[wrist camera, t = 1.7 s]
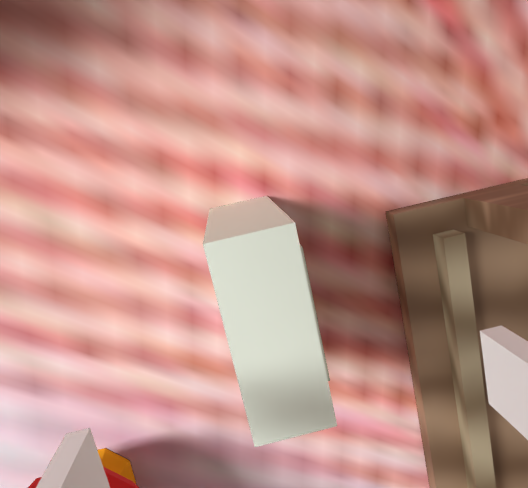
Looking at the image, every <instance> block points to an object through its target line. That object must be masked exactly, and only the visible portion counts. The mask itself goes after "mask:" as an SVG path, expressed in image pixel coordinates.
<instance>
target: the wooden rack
mask: <svg viewBox="0 0 528 488" xmlns="http://www.w3.org/2000/svg"><path fill="white" fill-rule="evenodd" d="M386 218H387V224H388V230H389V236H390V243H391V249H392V255H393V261H394V268H395V274H396V280H397V286H398V293H399V299H400V305H401V311H402V318H403V324H404V330H405V336H406V342H407V349H408V355H409V361H410V367H411V374H412V380H413V386H414V392H415V399H416V405H417V411H418V417H419V424H420V430H421V436H422V442H423V449H424V455H425V461H426V467H427V474H428V480H429V486H430V488H528V440H527V439H526V438H525V437H524V436H523V435H522V434H521V433H520V432H519V431H518V430H517V429H515V428H514V427H513V426H512V425H511V424H510V423H509V422H508V421H507V420H506V419H505V418H504V417H503V416H502V415H500V414H499V413H498V412H497V411H496V410H495V409H494V408H493V407H492V406H491V405H490V404H489V402H488V394H487V386H486V377H485V369H484V361H483V353H482V345H481V337H480V331H481V330H485V329H489V328H493V327H497V326H501V325H502V326H503V327H505V328H507V329H508V330H510V331H512V332H513V333H515V334H517V335H518V336H520V337H521V338H523V339H525V340H526V341H528V178H526V179H522V180H518V181H514V182H510V183H505V184H501V185H497V186H493V187H488V188H484V189H480V190H476V191H471V192H467V193H463V194H459V195H454V196H450V197H446V198H442V199H437V200H433V201H429V202H425V203H420V204H416V205H412V206H408V207H403V208H399V209H395V210H391V211H386Z"/></svg>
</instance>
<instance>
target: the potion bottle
mask: <svg viewBox="0 0 528 488" xmlns="http://www.w3.org/2000/svg"><path fill="white" fill-rule="evenodd" d="M98 453H99V456H100V459H101V462H102V465H103V468H104V471H105V474H106V477H107V480H108V483H109V486H110V488H139V487H138V486H137V485H136V481H135V477H134V474H133V470H132V467H131V463H130V460H128V459H126V458H124V457H122V456H120V455H118V454H116V453H114V452H112V451H110V450H108V449H106V448H104V449H100V450H98ZM41 478H42V477H40V478H36V479H35V481H34V482H33V483H32V484H31V485H30V486H29V487H28V488H36V487H37V485H38V483H39V481H40V480H41Z"/></svg>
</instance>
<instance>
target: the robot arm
mask: <svg viewBox="0 0 528 488" xmlns="http://www.w3.org/2000/svg"><path fill="white" fill-rule="evenodd" d="M480 337H481V345H482V353H483V361H484V369H485V377H486V386H487V394H488V402H489V404H490V405H491V406H492V407H493V408H494V409H495V410H496V411H497V412H498V413H499V414H500V415H502V416H503V417H504V418H505V419H506V420H507V421H508V422H509V423H510V424H511V425H512V426H513V427H514V428H515V429H517V430H518V431H519V432H520V433H521V434H522V435H523V436H524V437H525V438H526V439H527V440H528V341H526V340H525V339H523V338H521V337H520V336H518V335H517V334H515V333H513V332H512V331H510V330H508V329H507V328H505V327H503V326H502V325H501V326H497V327H493V328H489V329H485V330H481V331H480ZM36 488H110V486H109V483H108V480H107V477H106V474H105V471H104V468H103V465H102V462H101V459H100V456H99V453H98V450H97V447H96V445H95V442H94V439H93V436H92V433H91V430H90V428H88V429H84V430H80V431H76V432H72V433H68V434H66V435H65V437H64V438H63V440H62V442H61V444H60V446H59V447H58V449H57V451H56V453H55V455H54V456H53V458H52V460H51V462H50V463H49V465H48V467H47V469H46V471H45V472H44V474H43V476H42V478H41V480H40V481H39V483H38V485H37V487H36Z"/></svg>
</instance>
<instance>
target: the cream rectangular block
mask: <svg viewBox="0 0 528 488" xmlns="http://www.w3.org/2000/svg"><path fill="white" fill-rule="evenodd" d="M203 246H204V250H205V254H206V258H207V262H208V266H209V270H210V274H211V278H212V282H213V285H214V289H215V293H216V297H217V301H218V305H219V309H220V313H221V317H222V321H223V325H224V328H225V332H226V336H227V340H228V344H229V348H230V352H231V356H232V360H233V364H234V368H235V371H236V375H237V379H238V383H239V387H240V391H241V395H242V399H243V403H244V407H245V411H246V414H247V418H248V422H249V426H250V430H251V434H252V438H253V442H254V446H255V447H258V446H262V445H266V444H269V443H273V442H277V441H281V440H285V439H289V438H293V437H297V436H301V435H304V434H308V433H312V432H316V431H320V430H324V429H328V428H332V427H335V426H337V423H336V418H335V413H334V408H333V403H332V398H331V394H330V389H329V384H328V381H330V378H329V373H328V369H327V364H326V359H325V354H324V349H323V344H322V339H321V335H320V330H319V325H318V320H317V315H316V310H315V305H314V300H313V296H312V291H311V286H310V281H309V276H308V271H307V266H306V262H305V257H304V252H303V247H302V246H301V245H300V244H299V239H298V234H297V229H296V224H295V222H294V221H293V220H292V219H291V218H290V217H289V216H288V215H287V214H286V213H285V212H283V211H282V210H281V209H280V208H279V207H278V206H277V205H276V204H275V203H274V202H273V201H272V200H271V199H270V198H269V197H268V196H263V197H259V198H254V199H250V200H246V201H241V202H237V203H233V204H228V205H224V206H220V207H215V208H211V209H210V210H209V215H208V220H207V225H206V231H205V236H204V241H203Z"/></svg>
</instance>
